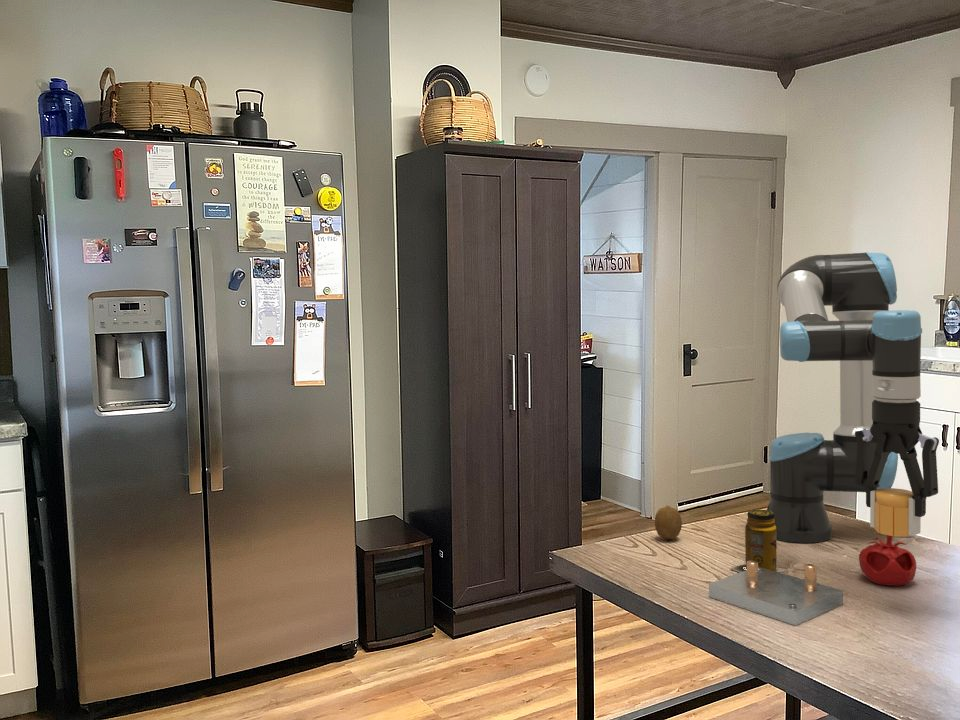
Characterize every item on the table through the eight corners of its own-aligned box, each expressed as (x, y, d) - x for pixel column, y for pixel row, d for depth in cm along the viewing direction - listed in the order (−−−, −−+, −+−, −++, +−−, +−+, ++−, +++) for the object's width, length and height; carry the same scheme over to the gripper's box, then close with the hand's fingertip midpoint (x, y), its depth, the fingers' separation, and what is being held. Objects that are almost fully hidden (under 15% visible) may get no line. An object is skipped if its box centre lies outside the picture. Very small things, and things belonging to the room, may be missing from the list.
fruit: (684, 543, 187) (684, 508, 186) (657, 543, 187) (656, 509, 187) (679, 535, 193) (678, 502, 193) (652, 536, 193) (651, 502, 193)
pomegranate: (856, 572, 165) (855, 526, 165) (911, 575, 162) (910, 528, 162) (862, 587, 156) (862, 539, 156) (921, 591, 153) (920, 541, 152)
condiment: (786, 570, 167) (785, 512, 166) (759, 579, 162) (758, 520, 161) (756, 561, 173) (755, 505, 172) (729, 570, 168) (728, 512, 167)
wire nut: (886, 524, 148) (886, 486, 148) (920, 531, 144) (921, 492, 143) (869, 531, 145) (869, 492, 144) (903, 538, 140) (904, 498, 139)
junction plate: (757, 578, 162) (756, 544, 162) (843, 604, 148) (843, 566, 148) (708, 596, 154) (708, 560, 153) (795, 625, 139) (795, 585, 139)
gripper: (832, 397, 148) (832, 522, 150) (943, 406, 132) (941, 546, 134) (854, 393, 152) (854, 515, 154) (964, 401, 137) (962, 537, 139)
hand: (894, 529), depth 144 cm, fingers closed on wire nut, 6 cm apart
